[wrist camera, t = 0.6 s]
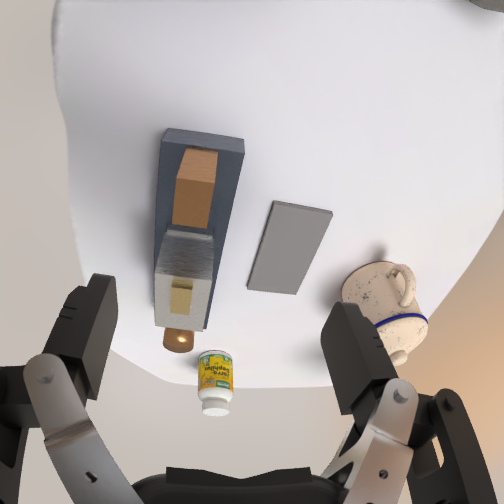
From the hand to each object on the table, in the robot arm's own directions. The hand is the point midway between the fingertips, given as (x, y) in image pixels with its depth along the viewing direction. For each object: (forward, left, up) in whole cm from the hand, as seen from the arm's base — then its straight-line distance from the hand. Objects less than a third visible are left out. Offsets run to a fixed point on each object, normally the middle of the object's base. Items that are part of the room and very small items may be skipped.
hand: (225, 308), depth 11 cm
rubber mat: (+12, +8, -18) cm, 23 cm away
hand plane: (+12, -2, -18) cm, 22 cm away
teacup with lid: (+14, +21, -18) cm, 31 cm away
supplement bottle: (+36, +4, -18) cm, 41 cm away
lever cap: (+12, -2, -14) cm, 19 cm away
